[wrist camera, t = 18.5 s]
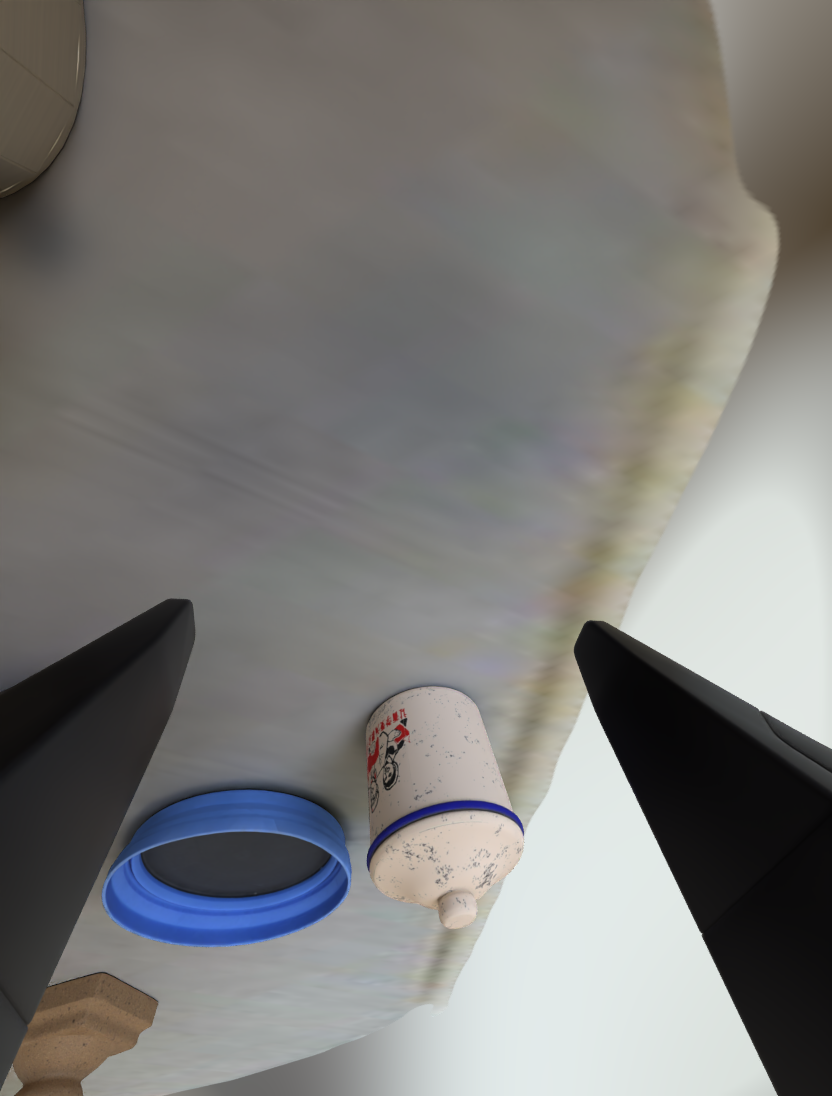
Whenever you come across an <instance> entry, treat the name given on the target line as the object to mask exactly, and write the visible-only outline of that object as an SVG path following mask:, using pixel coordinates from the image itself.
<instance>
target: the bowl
mask: <svg viewBox="0 0 832 1096" xmlns="http://www.w3.org/2000/svg"><path fill="white" fill-rule="evenodd" d="M350 885H351V863H350V858H349V853H348V851H347V848H346V846H345V837H344V833H343V830H342V828H341V826H340V825H339V823H338V822H337V820H336V819H335V818H334V817H333V816H332V815H331V814H330V813H328V812H327V811H326V810H324V809H323V808H321V807H320V806H318V805H316V804H314V803H312V802H310V801H308V800H305V799H303V798H300V797H297V796H293V795H289V794H285V793H280V792H274V791H266V790H228V791H220V792H213V793H208V794H203V795H199V796H195V797H192V798H189V799H185V800H183V801H180V802H177V803H175V804H173V805H170V806H168V807H166V808H164V809H163V810H161V811H159V812H158V813H156V814H155V815H153V816H152V817H150V818H149V819H148V820H147V821H146V822H145V823H144V824H142V825H141V827H140V828H139V829H138V830H137V831H136V833H135V834H134V836H133V838H132V840H131V842H130V843H129V844H128V845H127V846H126V847H125V848H124V849H123V851H122V852H121V853H120V855H119V856H118V858H117V859H116V860H115V862H114V863H113V865H112V866H111V868H110V870H109V872H108V875H107V878H106V880H105V883H104V885H103V889H102V902H103V906H104V908H105V910H106V912H107V914H108V915H109V917H110V918H111V919H112V920H113V921H114V922H115V923H117V924H118V925H119V926H121V927H122V928H124V929H126V930H128V931H130V932H132V933H134V934H137V935H139V936H142V937H145V938H148V939H151V940H155V941H159V942H164V943H169V944H175V945H182V946H193V947H226V946H237V945H245V944H252V943H257V942H263V941H267V940H271V939H275V938H279V937H282V936H286V935H289V934H291V933H294V932H297V931H299V930H302V929H304V928H307V927H309V926H311V925H313V924H315V923H317V922H319V921H320V920H322V919H323V918H325V917H326V916H328V915H329V914H331V913H332V912H333V911H334V910H335V909H336V908H338V907H339V905H340V904H341V903H342V902H343V901H344V899H345V898H346V896H347V894H348V892H349V889H350Z"/></svg>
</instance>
